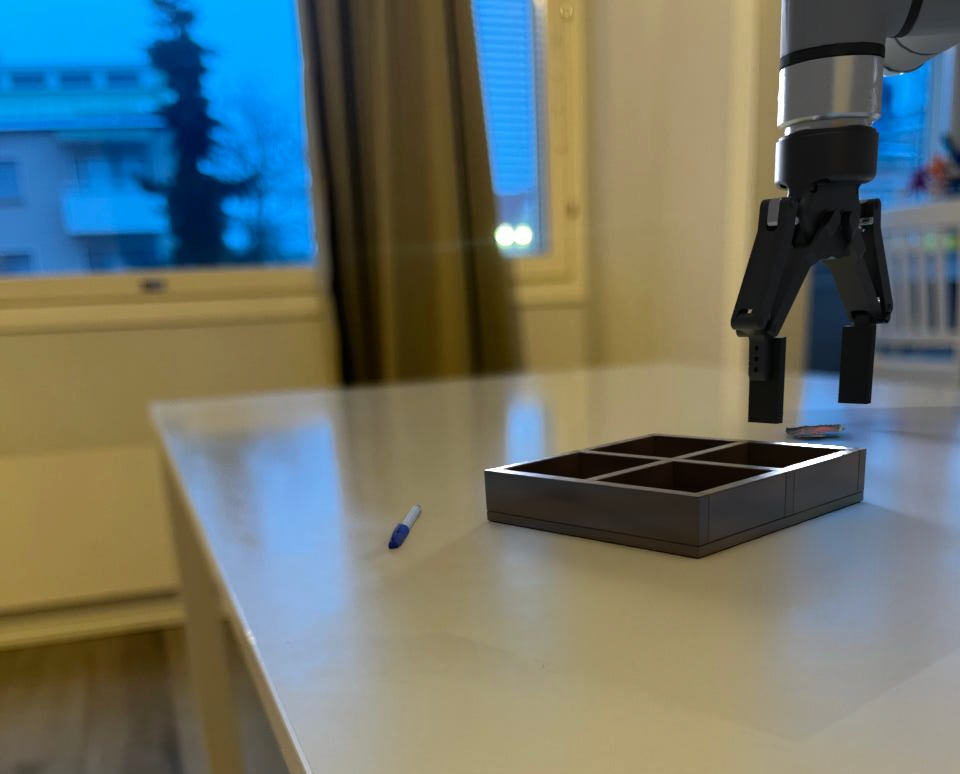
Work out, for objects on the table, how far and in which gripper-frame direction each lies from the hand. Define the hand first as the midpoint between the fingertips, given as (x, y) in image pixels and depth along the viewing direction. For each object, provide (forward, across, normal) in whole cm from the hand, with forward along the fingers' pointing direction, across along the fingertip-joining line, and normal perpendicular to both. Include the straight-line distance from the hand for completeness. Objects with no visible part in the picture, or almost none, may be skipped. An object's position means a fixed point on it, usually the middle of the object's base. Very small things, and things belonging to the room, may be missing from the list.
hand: (811, 412), depth 83 cm
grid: (+2, +29, +8) cm, 30 cm away
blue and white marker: (+3, +41, -3) cm, 41 cm away
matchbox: (+2, 0, 0) cm, 2 cm away
